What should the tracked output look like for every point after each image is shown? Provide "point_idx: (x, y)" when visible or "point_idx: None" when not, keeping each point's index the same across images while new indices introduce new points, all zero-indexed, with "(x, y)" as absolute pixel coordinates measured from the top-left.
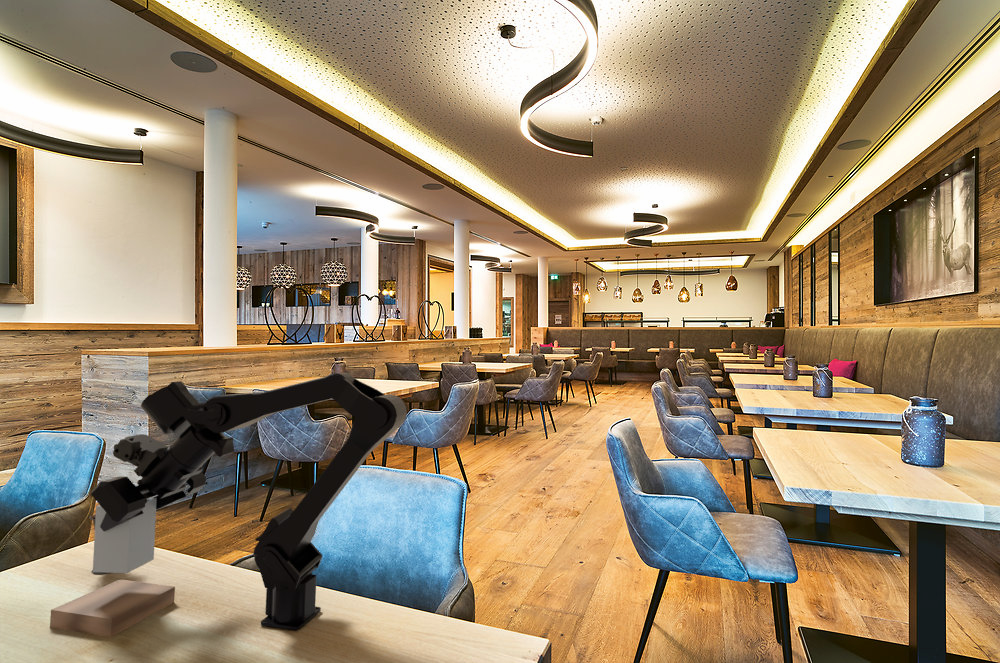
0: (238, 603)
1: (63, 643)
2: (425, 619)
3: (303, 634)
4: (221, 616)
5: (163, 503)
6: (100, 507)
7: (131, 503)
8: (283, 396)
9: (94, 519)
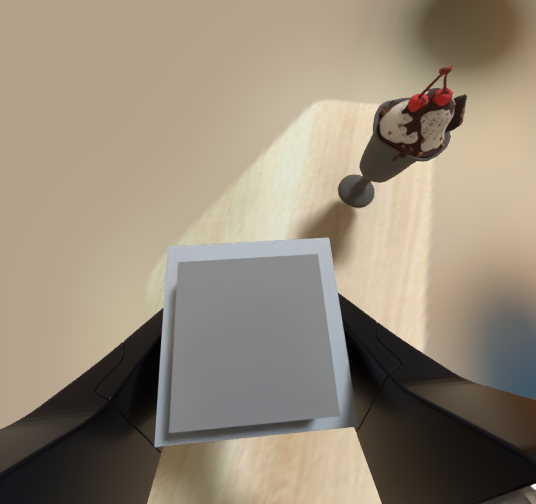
0: (310, 489)
1: None
2: None
3: None
4: (264, 492)
5: (362, 436)
6: (169, 268)
7: None
8: None
9: (375, 121)
